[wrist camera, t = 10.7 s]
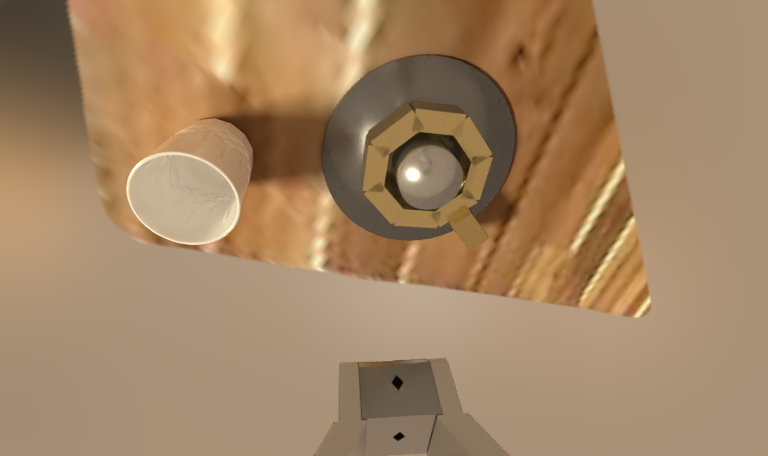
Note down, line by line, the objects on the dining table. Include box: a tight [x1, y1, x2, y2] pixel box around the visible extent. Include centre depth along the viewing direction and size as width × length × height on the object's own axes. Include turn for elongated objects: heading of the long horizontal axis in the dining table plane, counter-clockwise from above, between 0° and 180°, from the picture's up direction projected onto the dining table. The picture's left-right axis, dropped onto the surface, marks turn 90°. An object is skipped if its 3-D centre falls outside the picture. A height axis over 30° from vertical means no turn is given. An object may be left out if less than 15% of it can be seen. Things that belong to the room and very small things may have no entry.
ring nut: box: [360, 100, 493, 250], centre depth 39 cm, size 16×12×4 cm
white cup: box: [127, 118, 253, 245], centre depth 33 cm, size 8×8×10 cm
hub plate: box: [322, 55, 515, 240], centre depth 38 cm, size 20×20×5 cm
